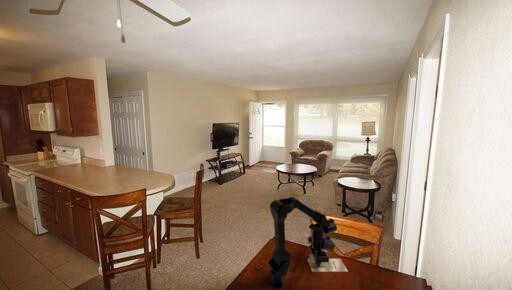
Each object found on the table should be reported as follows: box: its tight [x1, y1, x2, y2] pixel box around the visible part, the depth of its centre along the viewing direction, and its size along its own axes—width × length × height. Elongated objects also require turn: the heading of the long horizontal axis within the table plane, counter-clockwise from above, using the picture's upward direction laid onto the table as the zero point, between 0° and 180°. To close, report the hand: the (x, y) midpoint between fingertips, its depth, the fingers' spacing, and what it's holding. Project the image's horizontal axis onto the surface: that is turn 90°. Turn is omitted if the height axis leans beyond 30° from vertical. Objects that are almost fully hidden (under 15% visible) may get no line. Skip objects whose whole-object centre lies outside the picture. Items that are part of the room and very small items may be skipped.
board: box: [307, 258, 349, 273], centre depth 114 cm, size 18×10×1 cm, turn 90°
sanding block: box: [309, 253, 325, 268], centre depth 113 cm, size 7×4×4 cm, turn 90°
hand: (317, 263), depth 114 cm, fingers closed on sanding block, 4 cm apart
